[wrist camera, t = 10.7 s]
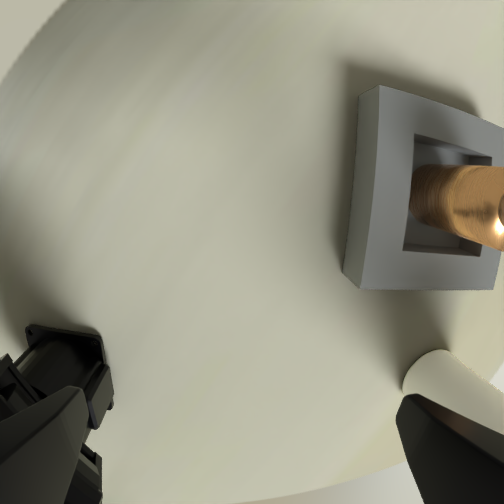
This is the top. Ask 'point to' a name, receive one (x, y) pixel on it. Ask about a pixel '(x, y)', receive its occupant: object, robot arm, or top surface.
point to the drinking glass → (456, 388)
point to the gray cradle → (398, 192)
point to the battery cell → (461, 201)
